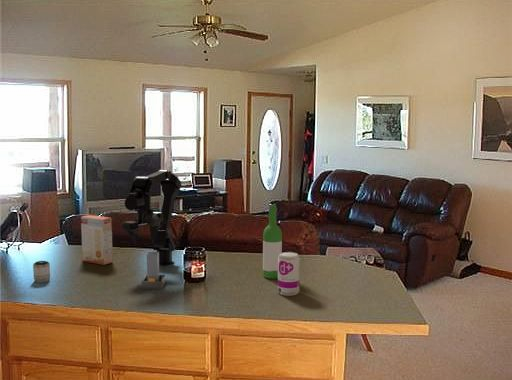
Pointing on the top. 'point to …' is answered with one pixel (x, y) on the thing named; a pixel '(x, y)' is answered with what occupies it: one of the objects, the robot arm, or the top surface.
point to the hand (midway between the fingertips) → (144, 243)
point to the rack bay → (153, 282)
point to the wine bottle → (271, 246)
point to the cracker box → (96, 239)
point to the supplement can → (288, 273)
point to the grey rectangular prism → (153, 265)
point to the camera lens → (41, 271)
